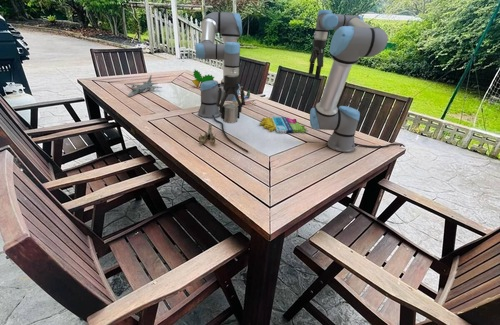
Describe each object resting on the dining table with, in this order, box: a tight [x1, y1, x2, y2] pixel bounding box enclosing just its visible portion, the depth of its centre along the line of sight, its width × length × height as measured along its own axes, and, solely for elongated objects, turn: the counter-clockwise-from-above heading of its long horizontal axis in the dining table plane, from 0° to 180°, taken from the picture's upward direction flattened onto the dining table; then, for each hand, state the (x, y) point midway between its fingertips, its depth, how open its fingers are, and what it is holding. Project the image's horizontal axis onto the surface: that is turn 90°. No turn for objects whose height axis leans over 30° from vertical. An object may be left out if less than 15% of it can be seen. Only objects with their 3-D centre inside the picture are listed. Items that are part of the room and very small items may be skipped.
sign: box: [259, 116, 307, 134], centre depth 176 cm, size 26×2×30 cm
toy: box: [232, 89, 257, 106], centre depth 219 cm, size 28×7×30 cm
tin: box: [222, 103, 239, 124], centre depth 142 cm, size 8×8×8 cm
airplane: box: [126, 74, 163, 98], centre depth 227 cm, size 38×31×10 cm
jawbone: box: [198, 123, 217, 146], centre depth 145 cm, size 9×15×10 cm
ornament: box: [191, 69, 215, 89], centre depth 252 cm, size 21×8×15 cm, turn 105°
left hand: (230, 118), depth 143 cm, fingers closed on tin, 8 cm apart
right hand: (313, 76), depth 167 cm, fingers open, 13 cm apart
